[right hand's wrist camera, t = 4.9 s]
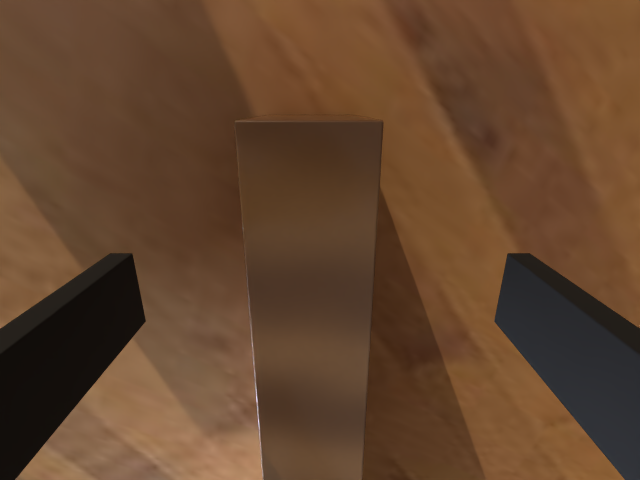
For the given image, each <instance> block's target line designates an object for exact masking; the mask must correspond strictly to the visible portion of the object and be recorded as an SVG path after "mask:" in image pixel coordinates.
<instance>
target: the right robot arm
mask: <svg viewBox="0 0 640 480" xmlns="http://www.w3.org/2000/svg"><path fill="white" fill-rule="evenodd" d="M145 321H146V320H145V315H144V310H143V305H142V300H141V295H140V290H139V285H138V280H137V275H136V270H135V265H134V260H133V255H132V253H110V254H109V255H107V256H106V257H104V258H103V259H102V260H100V261H99V262H97V263H96V264H94V265H93V266H91V267H90V268H88V269H87V270H85V271H84V272H83V273H81V274H80V275H78V276H77V277H75V278H74V279H72V280H71V281H69V282H68V283H66V284H65V285H64V286H62V287H61V288H59V289H58V290H56V291H55V292H53V293H52V294H50V295H49V296H47V297H46V298H45V299H43V300H42V301H40V302H39V303H37V304H36V305H34V306H33V307H31V308H30V309H28V310H27V311H26V312H24V313H23V314H21V315H20V316H18V317H17V318H15V319H14V320H12V321H11V322H9V323H8V324H7V325H5V326H4V327H2V328H1V329H0V480H15V479H16V478H17V477H18V475H19V474H20V473H21V472H22V471H23V469H24V468H25V467H26V466H27V464H28V463H29V462H30V461H31V460H32V458H33V457H34V456H35V455H36V454H37V452H38V451H39V450H40V449H41V447H42V446H43V445H44V444H45V443H46V441H47V440H48V439H49V438H50V437H51V435H52V434H53V433H54V432H55V431H56V429H57V428H58V427H59V426H60V424H61V423H62V422H63V421H64V420H65V418H66V417H67V416H68V415H69V414H70V412H71V411H72V410H73V409H74V407H75V406H76V405H77V404H78V403H79V401H80V400H81V399H82V398H83V397H84V395H85V394H86V393H87V392H88V391H89V389H90V388H91V387H92V386H93V384H94V383H95V382H96V381H97V380H98V378H99V377H100V376H101V375H102V374H103V372H104V371H105V370H106V369H107V368H108V366H109V365H110V364H111V363H112V361H113V360H114V359H115V358H116V357H117V355H118V354H119V353H120V352H121V351H122V349H123V348H124V347H125V346H126V344H127V343H128V342H129V341H130V340H131V338H132V337H133V336H134V335H135V334H136V332H137V331H138V330H139V329H140V328H141V326H142V325H143V324H144V323H145ZM494 321H495V323H496V324H497V325H498V326H499V328H500V329H501V330H502V331H503V332H504V334H505V335H506V336H507V337H508V338H509V340H510V341H511V342H512V343H513V344H514V346H515V347H516V348H517V349H518V351H519V352H520V353H521V354H522V355H523V357H524V358H525V359H526V360H527V361H528V363H529V364H530V365H531V366H532V368H533V369H534V370H535V371H536V372H537V374H538V375H539V376H540V377H541V378H542V380H543V381H544V382H545V383H546V384H547V386H548V387H549V388H550V389H551V391H552V392H553V393H554V394H555V395H556V397H557V398H558V399H559V400H560V401H561V403H562V404H563V405H564V406H565V407H566V409H567V410H568V411H569V412H570V414H571V415H572V416H573V417H574V418H575V420H576V421H577V422H578V423H579V424H580V426H581V427H582V428H583V429H584V431H585V432H586V433H587V434H588V435H589V437H590V438H591V439H592V440H593V441H594V443H595V444H596V445H597V446H598V447H599V449H600V450H601V451H602V452H603V454H604V455H605V456H606V457H607V458H608V460H609V461H610V462H611V463H612V464H613V466H614V467H615V468H616V469H617V471H618V472H619V473H620V474H621V475H622V477H623V478H624V479H625V480H640V328H638V327H636V326H635V325H633V324H632V323H631V322H629V321H628V320H626V319H625V318H623V317H622V316H620V315H619V314H617V313H616V312H614V311H613V310H612V309H610V308H609V307H607V306H606V305H604V304H603V303H601V302H600V301H598V300H597V299H595V298H594V297H593V296H591V295H590V294H588V293H587V292H585V291H584V290H582V289H581V288H579V287H578V286H576V285H575V284H574V283H572V282H571V281H569V280H568V279H566V278H565V277H563V276H562V275H560V274H559V273H557V272H556V271H555V270H553V269H552V268H550V267H549V266H547V265H546V264H544V263H543V262H541V261H540V260H538V259H537V258H536V257H534V256H533V255H531V254H530V253H508V255H507V260H506V265H505V270H504V275H503V280H502V285H501V290H500V295H499V300H498V305H497V310H496V315H495V320H494Z"/></svg>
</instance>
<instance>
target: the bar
mask: <svg viewBox="0 0 640 480" xmlns="http://www.w3.org/2000/svg"><path fill="white" fill-rule="evenodd" d="M234 130H235V142H236V154H237V167H238V179H239V192H240V204H241V216H242V229H243V241H244V254H245V266H246V278H247V291H248V303H249V315H250V328H251V340H252V353H253V365H254V377H255V390H256V402H257V415H258V427H259V439H260V452H261V464H262V477H263V480H362V474H363V457H364V440H365V423H366V407H367V390H368V373H369V356H370V339H371V323H372V306H373V289H374V272H375V256H376V239H377V222H378V205H379V188H380V172H381V155H382V138H383V121H382V120H379V119H373V118H367V117H362V116H356V115H265V116H259V117H252V118H246V119H240V120H235V121H234Z"/></svg>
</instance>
